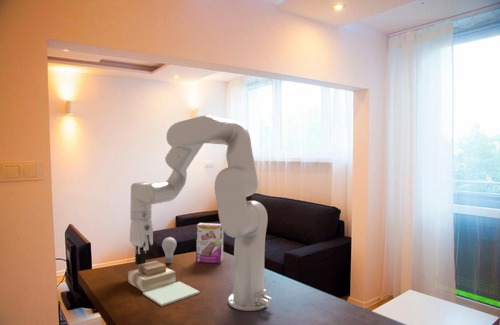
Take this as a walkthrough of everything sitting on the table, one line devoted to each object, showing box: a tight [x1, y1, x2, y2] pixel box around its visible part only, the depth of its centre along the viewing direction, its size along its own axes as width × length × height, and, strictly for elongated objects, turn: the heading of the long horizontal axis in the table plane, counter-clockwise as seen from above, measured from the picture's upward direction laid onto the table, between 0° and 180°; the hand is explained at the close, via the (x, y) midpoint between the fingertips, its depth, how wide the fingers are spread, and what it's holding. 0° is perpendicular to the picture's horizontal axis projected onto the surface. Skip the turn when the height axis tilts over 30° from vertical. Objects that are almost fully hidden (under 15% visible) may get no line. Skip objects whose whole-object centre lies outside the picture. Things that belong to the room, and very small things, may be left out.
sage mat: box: [142, 281, 201, 307], centre depth 106 cm, size 12×14×1 cm
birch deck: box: [127, 267, 177, 293], centre depth 116 cm, size 12×12×4 cm
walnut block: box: [137, 260, 167, 276], centre depth 115 cm, size 7×7×2 cm
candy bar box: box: [195, 222, 225, 264], centre depth 140 cm, size 11×5×16 cm, turn 84°
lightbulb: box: [161, 236, 177, 264], centre depth 137 cm, size 6×6×11 cm
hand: (140, 263), depth 122 cm, fingers closed
